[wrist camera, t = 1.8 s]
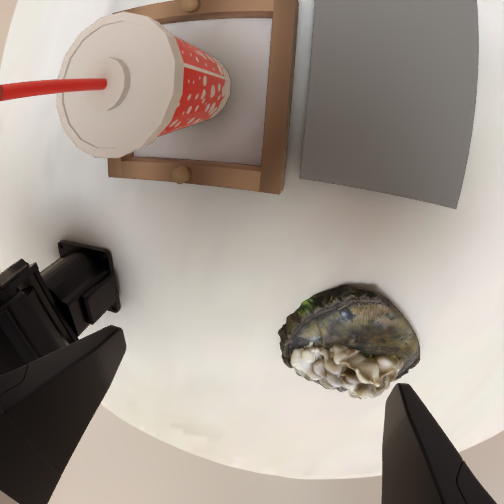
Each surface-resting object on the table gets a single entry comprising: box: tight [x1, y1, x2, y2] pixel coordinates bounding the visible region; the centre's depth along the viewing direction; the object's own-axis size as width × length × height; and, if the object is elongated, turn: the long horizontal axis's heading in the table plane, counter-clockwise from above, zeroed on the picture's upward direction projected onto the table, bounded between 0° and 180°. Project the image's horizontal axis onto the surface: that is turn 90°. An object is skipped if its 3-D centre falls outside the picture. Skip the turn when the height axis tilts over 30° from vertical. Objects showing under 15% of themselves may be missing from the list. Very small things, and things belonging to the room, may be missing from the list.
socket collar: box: [108, 0, 299, 194], centre depth 17 cm, size 12×12×2 cm
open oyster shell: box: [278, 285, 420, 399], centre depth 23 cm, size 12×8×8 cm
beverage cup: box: [0, 12, 231, 158], centre depth 11 cm, size 6×6×14 cm
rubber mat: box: [300, 0, 479, 209], centre depth 14 cm, size 10×14×1 cm
